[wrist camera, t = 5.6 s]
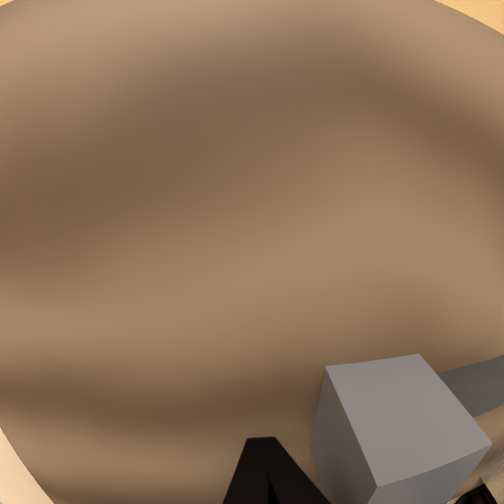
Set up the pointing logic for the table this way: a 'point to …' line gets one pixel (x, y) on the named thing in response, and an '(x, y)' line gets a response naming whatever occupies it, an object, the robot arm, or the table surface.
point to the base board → (235, 226)
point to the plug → (401, 429)
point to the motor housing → (495, 477)
